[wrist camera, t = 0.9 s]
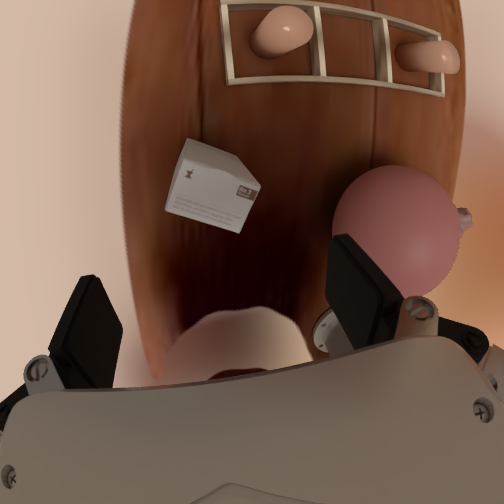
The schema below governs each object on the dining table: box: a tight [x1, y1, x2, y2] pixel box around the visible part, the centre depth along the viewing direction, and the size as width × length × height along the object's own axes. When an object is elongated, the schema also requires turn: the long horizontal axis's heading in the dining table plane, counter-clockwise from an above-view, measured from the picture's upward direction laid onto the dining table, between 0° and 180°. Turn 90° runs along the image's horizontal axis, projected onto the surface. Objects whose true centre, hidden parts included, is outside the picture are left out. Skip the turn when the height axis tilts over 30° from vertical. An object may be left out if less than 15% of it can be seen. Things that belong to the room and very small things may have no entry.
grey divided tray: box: [219, 0, 460, 98], centre depth 21 cm, size 10×28×8 cm, turn 95°
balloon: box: [332, 165, 473, 299], centre depth 29 cm, size 15×20×15 cm
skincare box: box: [165, 138, 261, 233], centre depth 25 cm, size 6×4×12 cm
